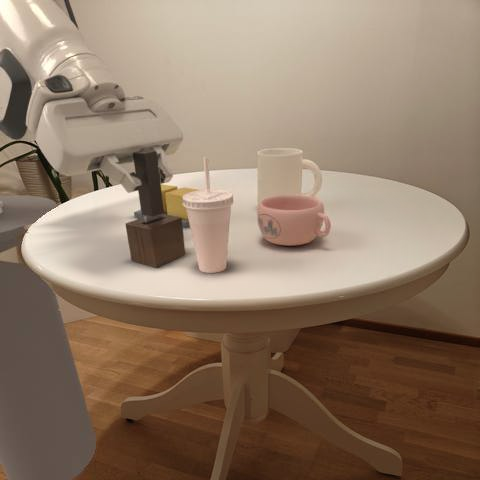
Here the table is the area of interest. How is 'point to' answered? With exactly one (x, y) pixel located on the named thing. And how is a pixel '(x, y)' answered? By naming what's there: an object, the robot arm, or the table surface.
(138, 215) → the butter dish
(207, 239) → the smoothie
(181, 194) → the butter
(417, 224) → the table surface
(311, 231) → the mug
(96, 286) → the table surface
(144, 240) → the knife block
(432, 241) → the table surface
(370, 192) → the table surface
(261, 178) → the mug
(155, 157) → the knife
